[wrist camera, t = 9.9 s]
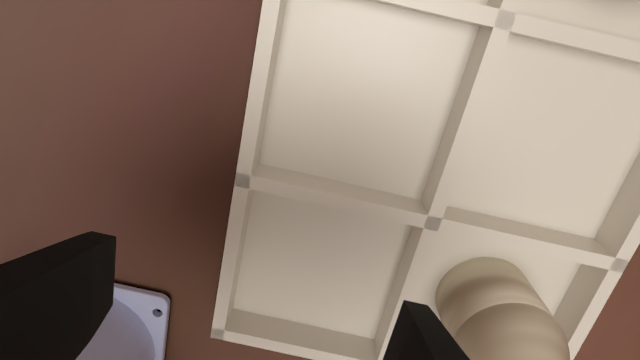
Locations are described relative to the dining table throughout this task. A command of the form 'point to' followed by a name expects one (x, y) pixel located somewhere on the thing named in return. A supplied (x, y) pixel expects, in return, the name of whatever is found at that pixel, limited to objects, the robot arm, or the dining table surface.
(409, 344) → the robot arm
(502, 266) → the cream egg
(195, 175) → the dining table surface
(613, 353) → the dining table surface
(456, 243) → the white compartment tray
